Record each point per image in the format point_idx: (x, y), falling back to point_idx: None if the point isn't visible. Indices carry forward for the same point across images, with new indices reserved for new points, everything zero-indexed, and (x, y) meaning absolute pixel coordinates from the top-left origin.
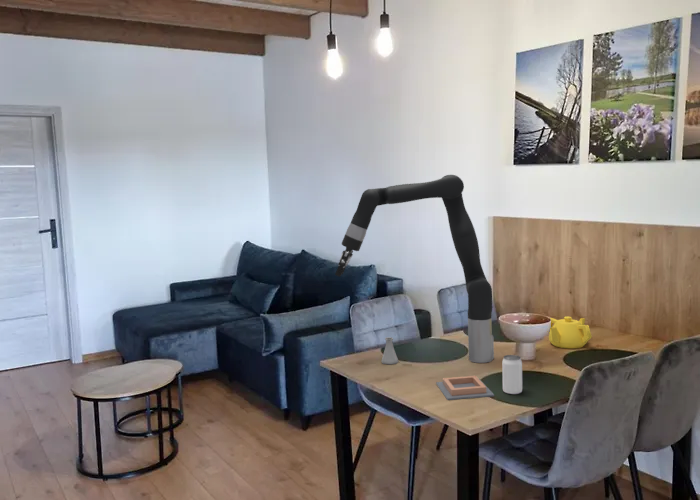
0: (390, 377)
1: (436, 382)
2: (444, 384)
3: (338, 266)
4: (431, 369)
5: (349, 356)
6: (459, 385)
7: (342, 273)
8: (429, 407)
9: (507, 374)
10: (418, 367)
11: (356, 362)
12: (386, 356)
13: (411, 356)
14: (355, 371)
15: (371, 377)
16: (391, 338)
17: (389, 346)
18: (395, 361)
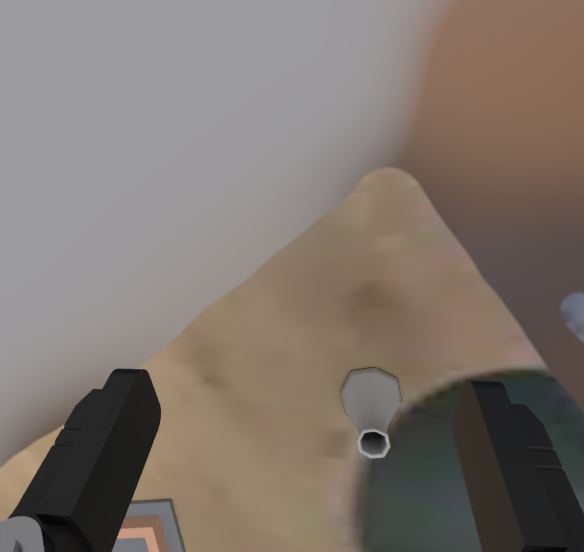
0: (220, 389)
1: (167, 502)
2: (142, 519)
3: (39, 506)
4: (287, 505)
5: (457, 251)
6: (147, 549)
7: (458, 439)
8: (25, 462)
9: None
10: (308, 473)
11: (377, 282)
12: (351, 396)
13: (427, 466)
14: (278, 283)
15: (221, 335)
16: (382, 451)
17: (358, 426)
18: (347, 415)
